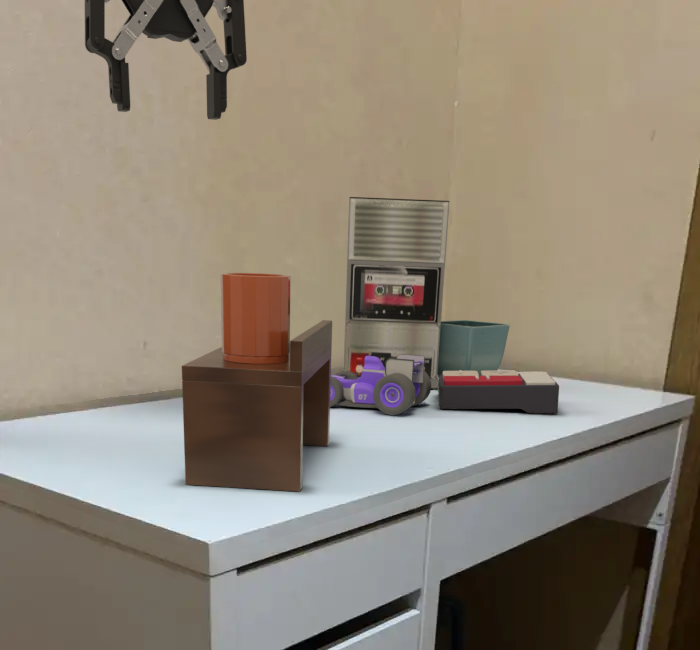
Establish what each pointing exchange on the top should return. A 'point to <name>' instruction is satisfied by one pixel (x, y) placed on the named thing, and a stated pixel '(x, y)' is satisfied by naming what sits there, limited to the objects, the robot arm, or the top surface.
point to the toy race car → (383, 385)
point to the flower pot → (471, 345)
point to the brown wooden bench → (257, 415)
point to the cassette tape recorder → (395, 280)
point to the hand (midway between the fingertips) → (169, 115)
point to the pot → (255, 318)
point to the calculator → (499, 391)
